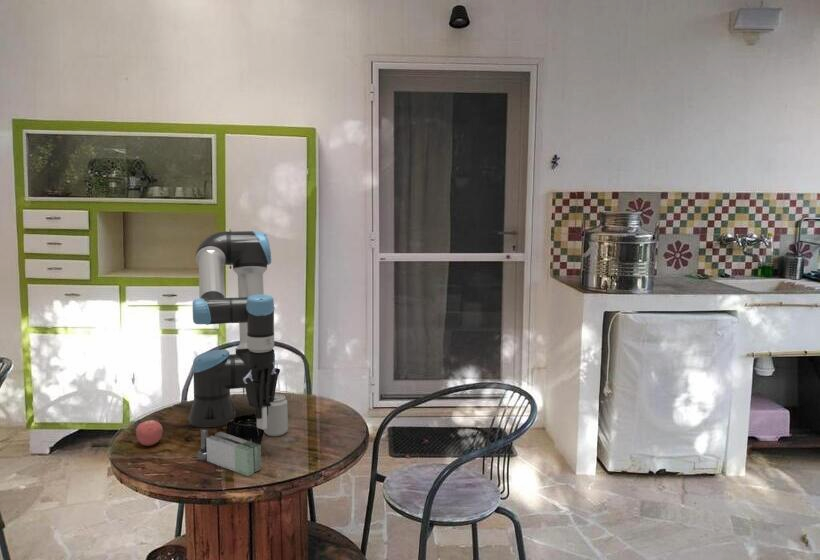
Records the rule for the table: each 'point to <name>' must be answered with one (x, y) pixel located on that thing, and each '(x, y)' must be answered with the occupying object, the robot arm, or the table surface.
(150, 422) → the apple
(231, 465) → the base
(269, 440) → the table surface
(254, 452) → the tong jaw
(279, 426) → the can
